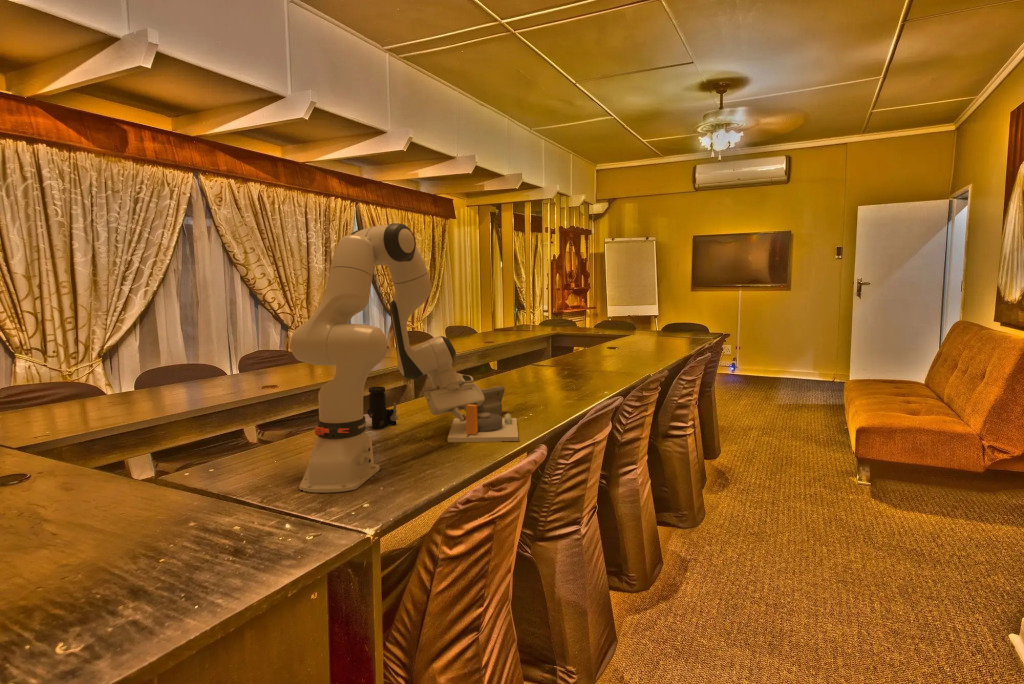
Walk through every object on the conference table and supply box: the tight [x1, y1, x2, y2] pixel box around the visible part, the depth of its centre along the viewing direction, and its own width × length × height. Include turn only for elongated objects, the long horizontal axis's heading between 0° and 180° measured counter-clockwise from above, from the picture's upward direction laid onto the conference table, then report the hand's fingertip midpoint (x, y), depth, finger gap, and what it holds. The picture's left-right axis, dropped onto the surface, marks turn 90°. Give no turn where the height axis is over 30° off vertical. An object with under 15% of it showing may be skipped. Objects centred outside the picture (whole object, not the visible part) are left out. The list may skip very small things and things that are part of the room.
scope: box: [367, 386, 399, 430], centre depth 187 cm, size 8×14×10 cm
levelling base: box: [447, 412, 519, 443], centre depth 181 cm, size 24×22×4 cm
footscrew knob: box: [465, 404, 503, 434], centre depth 179 cm, size 16×12×9 cm
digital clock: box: [477, 385, 505, 416], centre depth 202 cm, size 16×9×11 cm, turn 125°
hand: (467, 419), depth 174 cm, fingers closed
